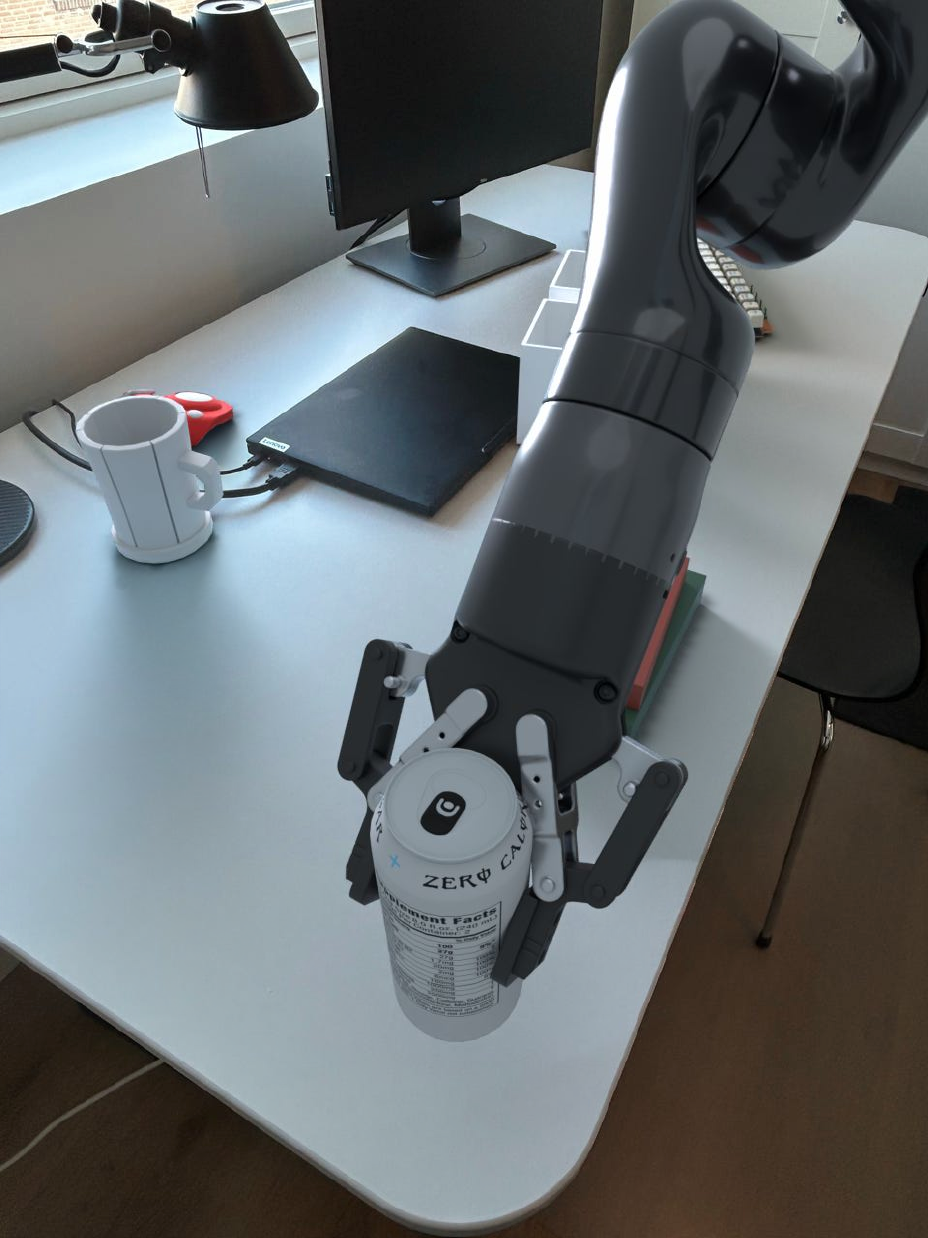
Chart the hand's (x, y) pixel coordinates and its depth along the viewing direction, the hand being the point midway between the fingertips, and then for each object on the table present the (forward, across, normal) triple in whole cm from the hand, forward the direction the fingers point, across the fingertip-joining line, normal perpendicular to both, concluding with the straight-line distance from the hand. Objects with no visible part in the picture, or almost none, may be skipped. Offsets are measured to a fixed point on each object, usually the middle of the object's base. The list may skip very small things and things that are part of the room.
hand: (433, 935), depth 35 cm
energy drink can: (+4, 0, +7) cm, 8 cm away
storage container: (-38, -24, +62) cm, 77 cm away
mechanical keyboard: (-62, -27, +86) cm, 109 cm away
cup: (-8, -46, +31) cm, 56 cm away
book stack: (-12, -7, +36) cm, 38 cm away
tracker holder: (-18, -60, +42) cm, 75 cm away
